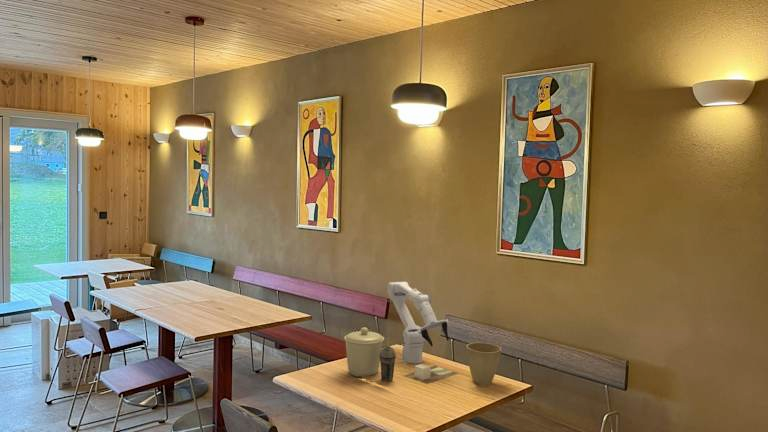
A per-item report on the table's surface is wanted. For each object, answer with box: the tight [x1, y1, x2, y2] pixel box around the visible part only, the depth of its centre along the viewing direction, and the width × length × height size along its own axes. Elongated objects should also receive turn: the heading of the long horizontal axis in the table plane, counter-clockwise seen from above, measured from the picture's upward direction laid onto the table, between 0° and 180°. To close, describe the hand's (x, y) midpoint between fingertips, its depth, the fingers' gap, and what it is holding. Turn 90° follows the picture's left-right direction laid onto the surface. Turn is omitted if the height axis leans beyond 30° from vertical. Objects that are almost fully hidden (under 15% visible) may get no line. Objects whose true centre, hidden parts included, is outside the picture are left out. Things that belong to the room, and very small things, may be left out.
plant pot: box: [466, 342, 502, 387], centre depth 242 cm, size 15×15×16 cm
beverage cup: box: [379, 336, 397, 383], centre depth 240 cm, size 7×7×20 cm
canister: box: [343, 326, 385, 378], centre depth 250 cm, size 18×18×21 cm
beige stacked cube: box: [414, 363, 432, 380], centre depth 244 cm, size 5×5×5 cm
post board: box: [403, 365, 459, 385], centre depth 249 cm, size 14×22×5 cm, turn 135°
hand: (439, 342), depth 247 cm, fingers open, 7 cm apart
